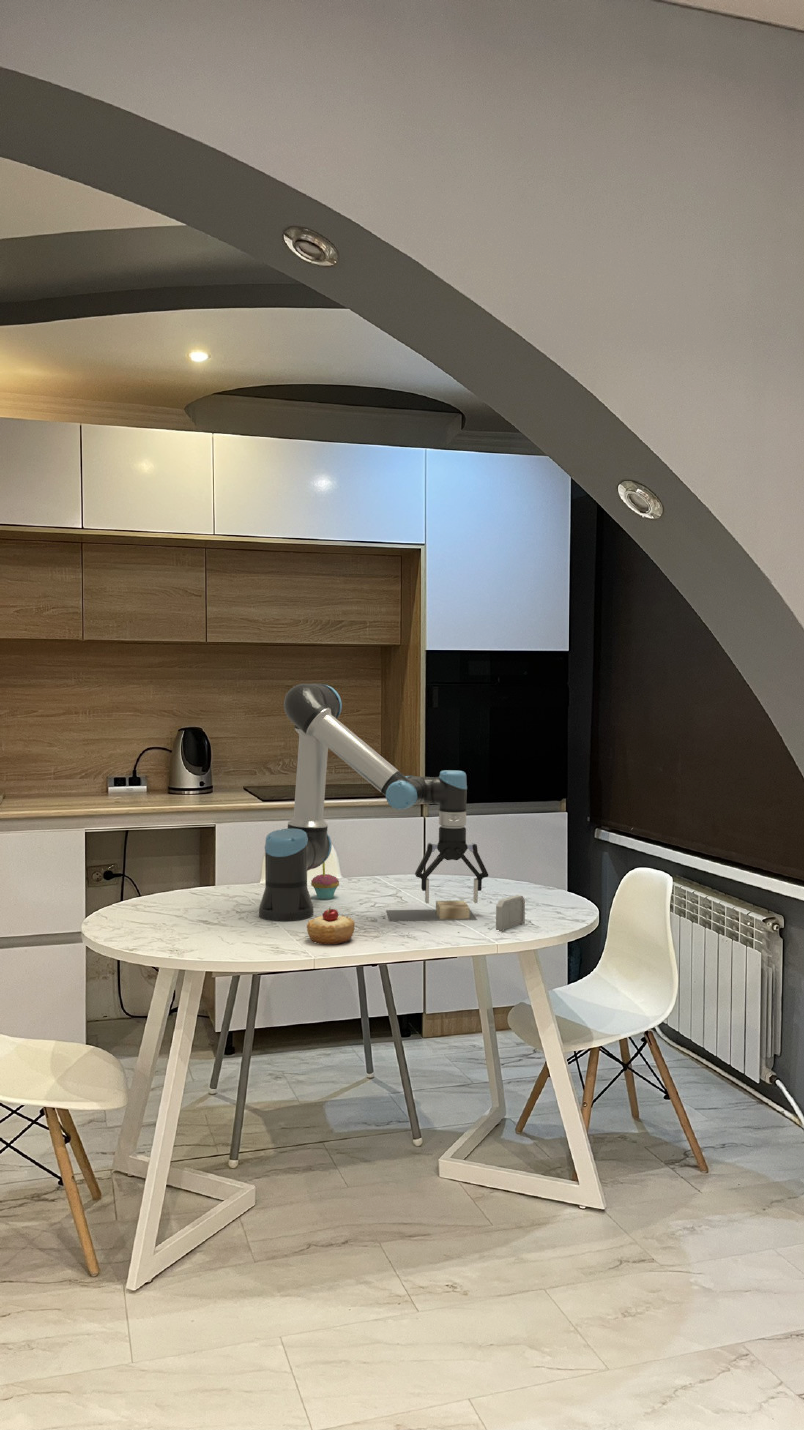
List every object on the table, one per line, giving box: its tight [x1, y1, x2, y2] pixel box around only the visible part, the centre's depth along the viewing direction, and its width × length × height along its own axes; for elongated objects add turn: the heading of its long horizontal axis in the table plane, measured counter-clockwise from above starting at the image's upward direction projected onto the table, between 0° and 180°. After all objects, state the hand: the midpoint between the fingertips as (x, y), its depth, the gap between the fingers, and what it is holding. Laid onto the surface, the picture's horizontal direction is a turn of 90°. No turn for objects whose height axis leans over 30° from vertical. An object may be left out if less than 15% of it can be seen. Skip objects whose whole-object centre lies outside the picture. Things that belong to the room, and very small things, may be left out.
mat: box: [385, 908, 478, 922], centre depth 292 cm, size 24×14×1 cm, turn 95°
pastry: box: [306, 906, 355, 945], centre depth 265 cm, size 12×12×9 cm
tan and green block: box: [435, 899, 470, 919], centre depth 292 cm, size 8×3×10 cm
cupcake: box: [310, 861, 340, 900], centre depth 318 cm, size 9×8×12 cm
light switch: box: [495, 894, 526, 932], centre depth 281 cm, size 2×12×8 cm, turn 143°
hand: (451, 902), depth 293 cm, fingers open, 13 cm apart
